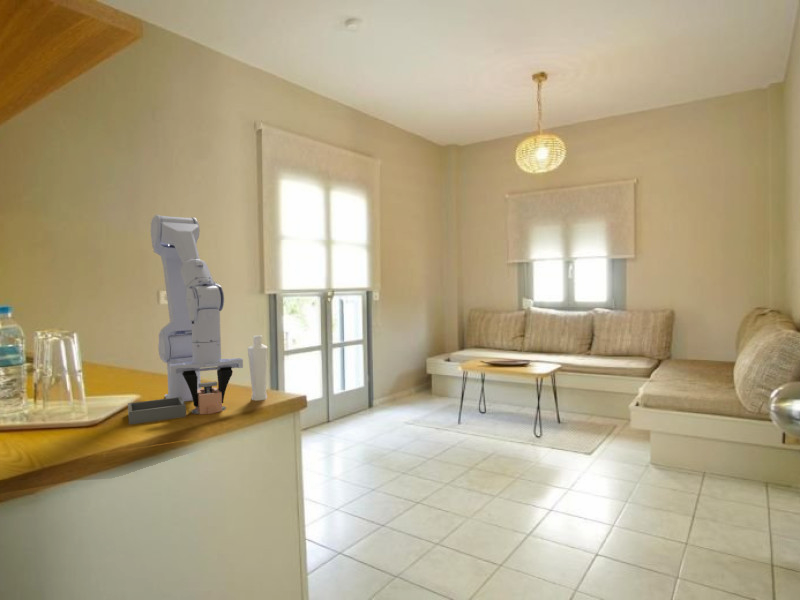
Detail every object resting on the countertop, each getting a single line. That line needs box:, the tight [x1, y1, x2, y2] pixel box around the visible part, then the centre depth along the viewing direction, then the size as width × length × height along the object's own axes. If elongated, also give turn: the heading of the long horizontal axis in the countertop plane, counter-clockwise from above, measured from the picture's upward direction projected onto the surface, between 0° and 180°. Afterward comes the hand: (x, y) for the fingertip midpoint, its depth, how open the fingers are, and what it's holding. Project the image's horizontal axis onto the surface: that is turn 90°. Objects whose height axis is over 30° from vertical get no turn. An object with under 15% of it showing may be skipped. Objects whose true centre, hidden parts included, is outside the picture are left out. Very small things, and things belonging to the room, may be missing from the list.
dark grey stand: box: [190, 381, 227, 415], centre depth 106 cm, size 7×7×6 cm
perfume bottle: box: [247, 335, 269, 402], centre depth 116 cm, size 5×4×15 cm
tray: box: [127, 397, 187, 425], centre depth 102 cm, size 9×10×3 cm
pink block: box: [195, 386, 223, 415], centre depth 106 cm, size 7×4×4 cm, turn 30°
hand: (208, 404), depth 106 cm, fingers closed on pink block, 4 cm apart
